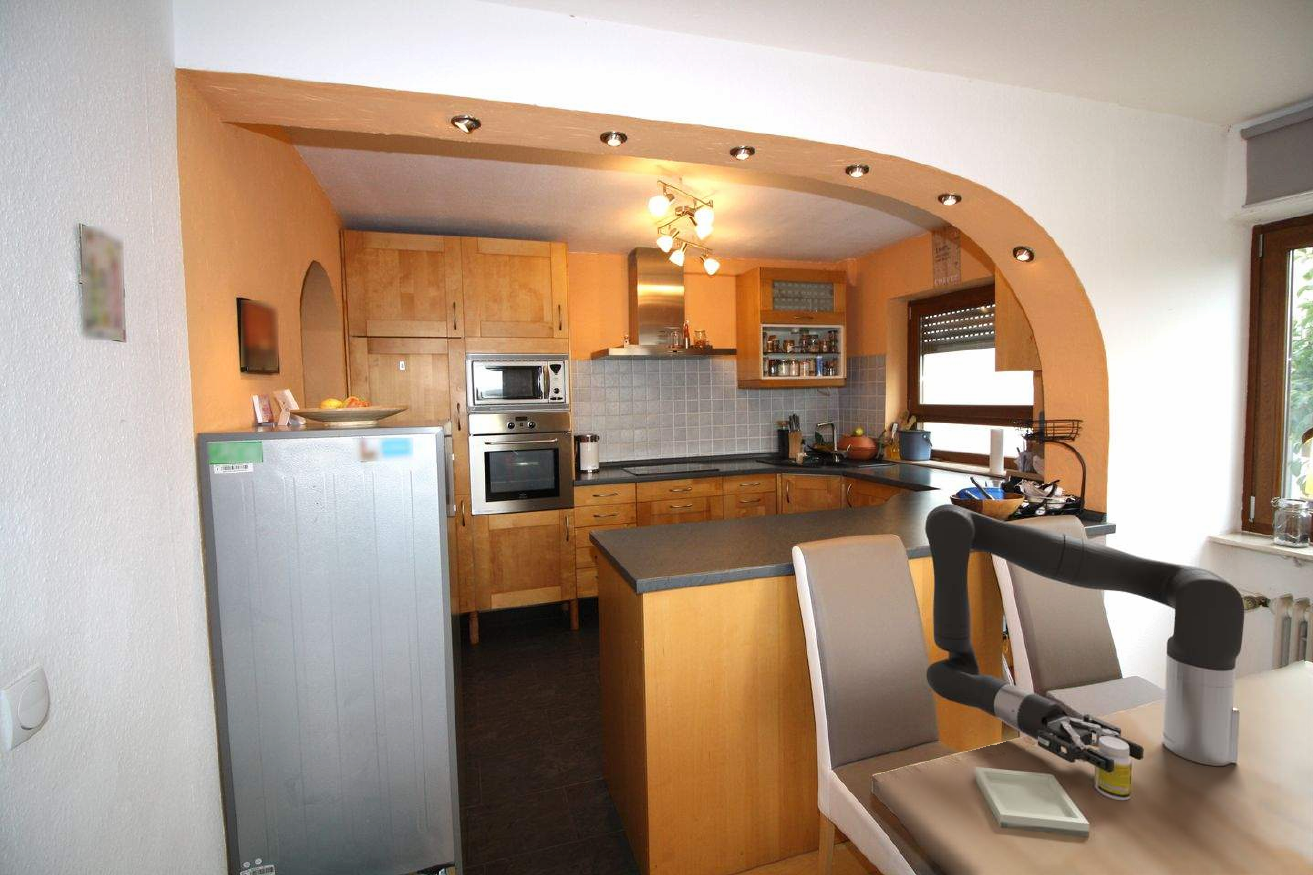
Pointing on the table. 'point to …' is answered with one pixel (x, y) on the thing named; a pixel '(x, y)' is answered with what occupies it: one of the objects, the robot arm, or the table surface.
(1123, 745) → the supplement bottle
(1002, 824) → the tray
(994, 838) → the table surface
